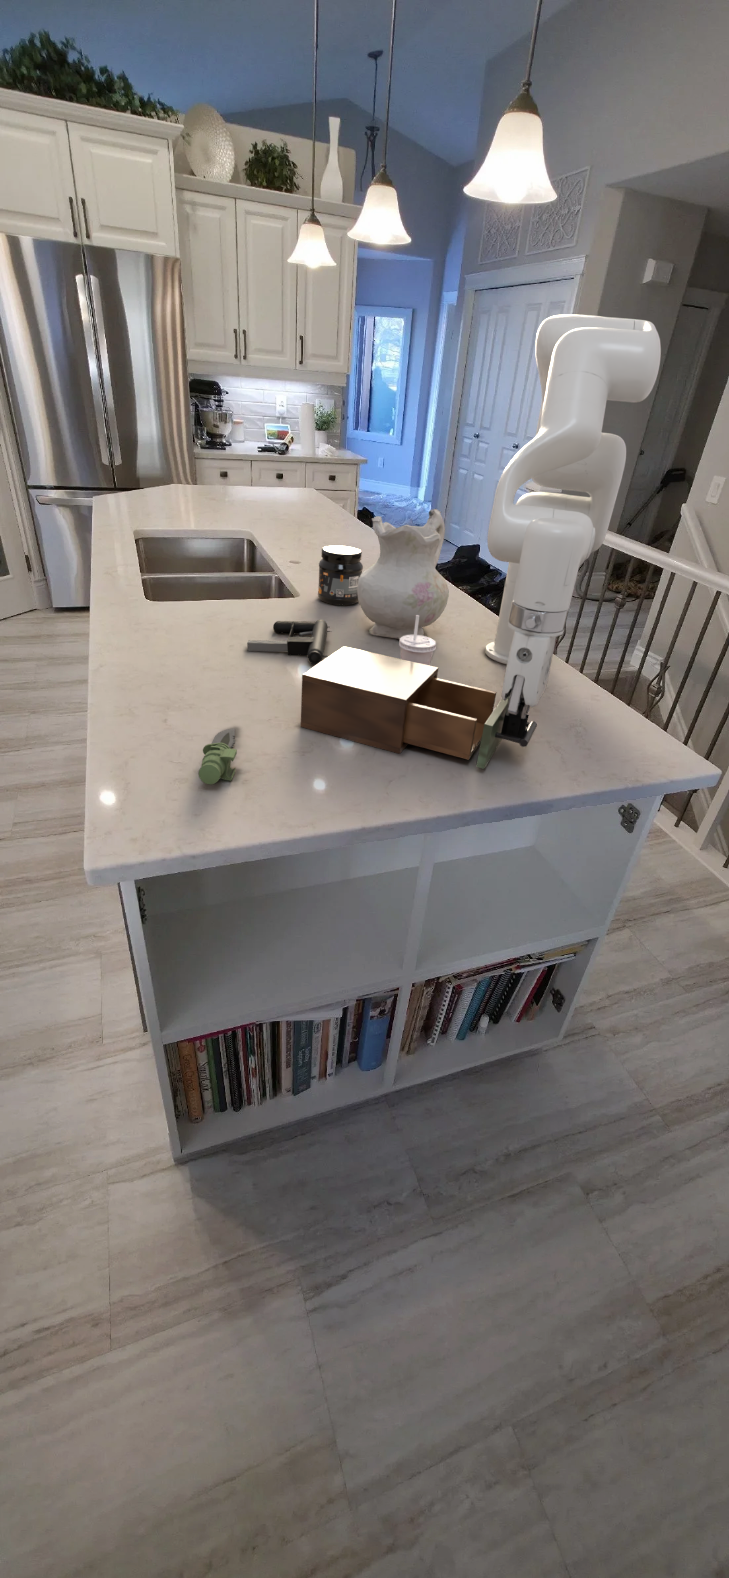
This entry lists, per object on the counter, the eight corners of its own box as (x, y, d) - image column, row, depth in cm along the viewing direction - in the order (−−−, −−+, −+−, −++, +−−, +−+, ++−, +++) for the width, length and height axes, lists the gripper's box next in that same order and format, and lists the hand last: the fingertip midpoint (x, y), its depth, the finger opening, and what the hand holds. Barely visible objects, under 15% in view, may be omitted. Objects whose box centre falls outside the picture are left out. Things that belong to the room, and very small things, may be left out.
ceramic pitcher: (384, 615, 162) (386, 503, 149) (462, 625, 154) (471, 508, 142) (342, 640, 145) (340, 516, 133) (426, 653, 138) (433, 523, 125)
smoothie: (391, 685, 123) (399, 609, 116) (426, 686, 124) (436, 610, 117) (396, 699, 118) (404, 621, 110) (432, 700, 118) (443, 622, 111)
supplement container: (323, 591, 171) (325, 542, 164) (364, 597, 169) (367, 547, 163) (312, 603, 162) (314, 551, 156) (355, 609, 161) (359, 557, 154)
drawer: (536, 739, 106) (545, 699, 103) (517, 777, 96) (526, 734, 92) (415, 709, 113) (419, 670, 109) (384, 742, 102) (388, 700, 98)
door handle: (242, 649, 126) (328, 651, 126) (257, 616, 143) (333, 618, 143) (243, 666, 128) (328, 668, 128) (258, 631, 145) (333, 633, 145)
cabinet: (431, 717, 113) (438, 667, 108) (399, 754, 101) (406, 700, 96) (340, 694, 118) (343, 646, 113) (300, 726, 106) (301, 674, 102)
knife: (190, 758, 86) (229, 763, 86) (217, 714, 103) (250, 719, 103) (188, 786, 87) (227, 791, 88) (215, 738, 104) (248, 742, 105)
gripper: (555, 638, 84) (525, 766, 93) (574, 609, 96) (546, 725, 105) (496, 626, 86) (473, 753, 96) (522, 599, 98) (499, 714, 108)
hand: (511, 738), depth 101 cm, fingers closed
